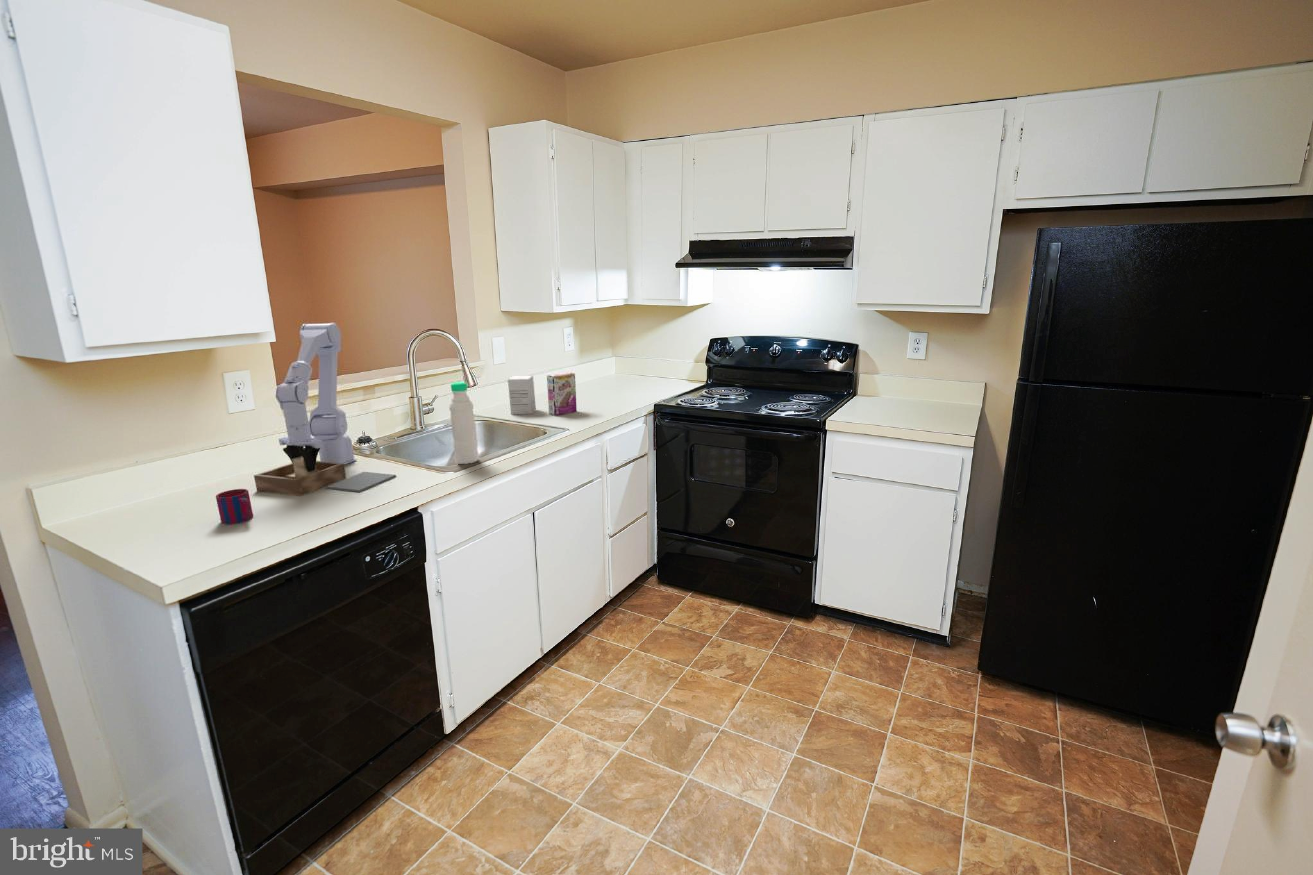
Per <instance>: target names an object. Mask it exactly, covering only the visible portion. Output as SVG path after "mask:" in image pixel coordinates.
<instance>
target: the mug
mask: <svg viewBox="0 0 1313 875" xmlns="http://www.w3.org/2000/svg"><path fill="white" fill-rule="evenodd" d="M249 492H250V491H249V490H248V489H247V488H237V489H236V488H235V489H230V490H225V491H222V492H219V493H217V494H216V495H215V499H216V503H217V504H216V505H217V510H218V513H219V518H220V523H221V524H223V525H235V524H241V523H244V521H245V522H248V521H250V520H252V519H253V517H254V514H253V507H252V503H251V499H250V493H249ZM249 519H250V520H249ZM240 522H241V523H240Z"/></svg>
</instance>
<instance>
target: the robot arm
mask: <svg viewBox="0 0 1313 875" xmlns="http://www.w3.org/2000/svg"><path fill="white" fill-rule="evenodd" d="M299 337H300V340H301V345H300V348H299V349H300V350H299V352H298V356H297V358H296V360H297V361H293V362H292V363H291V364H290V366H289V368H288V371H287V373H286V376H285V379H284V381H283V383H281V384H279V385H278V386H277V387H276V390H275V399H276V400H277V402H278V404H279V406H280V409H281V410H282V411H283V412H282V413H283V417H284V422H285V427H286V432H287V437H286V436H285V437H282V438H281V437H280V438H278V443H279V446H284V445H285V446H286V447H283V448H282V451H283V452H284V453H285V454H286V455H287V457H288V459H289V460H290V461H291V463H293V460H292V459H294V458H297V457H300V456H303V459H304V461H305V465H306V469H307V471H308V472H310V471H313V470H315V466H316V461H317V460H318V459H317V458H318V454H319V460H320V461H324V462H334V463H344V466H345V465H347V464H350V463H353V462H355V461H357V458H355V453H354V448H353V442H352V439H351V437H350V436H349V435H348V434H346V433H347V430H348V421H347V415H346V412H345V411H344V410H343V409H341V408H339V407H338V406H337V399H338V398H337V397H338V354H339V353H340V352H341V351H342V350H341V349H342V332H341V330H340V328H339V326H338V325H337V323H335V322H329V323H303V324H302V325H301V327H300V330H299ZM316 355H318V394H317V397H318V398H317V399H318V401H317V402H318V403H317V407H315V408H314V409H313V410H311V412H310V415H309V417H308V411H307V405H306V402H307V401H308V399H309V385H308V384H309V382H310V379H311V376H312V374H313V368H312V366H311V365H312V363H313V361H314V358H315V357H316Z"/></svg>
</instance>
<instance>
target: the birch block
mask: <svg viewBox="0 0 1313 875" xmlns="http://www.w3.org/2000/svg"><path fill="white" fill-rule="evenodd" d="M292 460H293V466H294V472H295V476H306V475H309V474H312V473H315V472H317V469H316V466H315V470H313V471H310V472H308V471H307V469H306V465H305V461H304V459H303V456H300V457H297V458H294V459H292Z"/></svg>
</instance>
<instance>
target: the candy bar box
mask: <svg viewBox="0 0 1313 875" xmlns="http://www.w3.org/2000/svg"><path fill="white" fill-rule="evenodd" d="M546 380H547V382H546V383H547V385H546V386H547V399H548V400H547V401H548V402H547V403H548V414H549V415H551V416H554V417H555V416H562V415H565V414H566V415H567V414H570V413H571V414H572V413H576V412H577V410H578V409H577V388H576V373H573V372H563V373H557V374H548V375H546Z"/></svg>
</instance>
